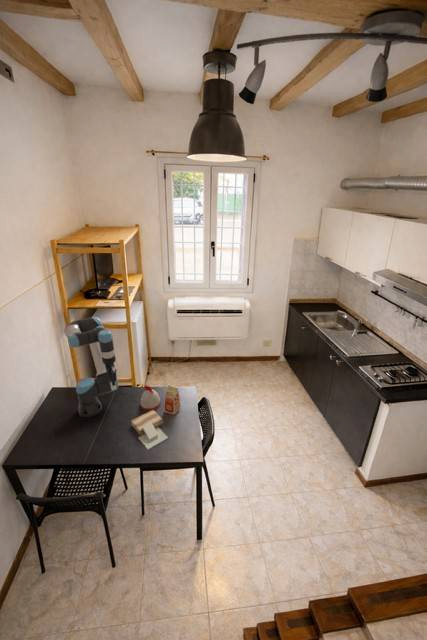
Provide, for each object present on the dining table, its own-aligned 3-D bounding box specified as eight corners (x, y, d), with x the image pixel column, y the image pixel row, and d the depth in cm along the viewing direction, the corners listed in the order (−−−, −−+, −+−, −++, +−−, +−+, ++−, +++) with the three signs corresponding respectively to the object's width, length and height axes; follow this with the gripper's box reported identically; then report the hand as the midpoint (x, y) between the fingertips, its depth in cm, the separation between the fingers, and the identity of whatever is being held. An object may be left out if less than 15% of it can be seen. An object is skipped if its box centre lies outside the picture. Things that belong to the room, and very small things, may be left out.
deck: (131, 425, 201) (131, 420, 199) (153, 414, 210) (153, 409, 208) (140, 435, 192) (140, 430, 191) (163, 424, 202) (162, 419, 200)
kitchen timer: (151, 395, 229) (149, 378, 223) (164, 402, 222) (163, 384, 215) (136, 405, 219) (134, 387, 213) (150, 413, 211) (148, 395, 205)
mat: (138, 438, 191) (138, 437, 191) (158, 427, 199) (158, 426, 199) (147, 449, 182) (147, 449, 182) (168, 438, 191) (168, 437, 190)
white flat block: (142, 427, 192) (142, 426, 191) (150, 423, 196) (151, 422, 194) (149, 440, 188) (149, 439, 187) (157, 435, 192) (158, 434, 190)
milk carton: (163, 411, 213) (161, 387, 204) (170, 403, 220) (168, 379, 212) (175, 415, 209) (174, 390, 201) (182, 406, 217) (180, 382, 209)
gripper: (97, 353, 185) (103, 386, 195) (106, 362, 176) (112, 396, 186) (109, 349, 190) (115, 381, 199) (119, 358, 181) (124, 391, 190)
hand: (113, 388), depth 193 cm, fingers closed
